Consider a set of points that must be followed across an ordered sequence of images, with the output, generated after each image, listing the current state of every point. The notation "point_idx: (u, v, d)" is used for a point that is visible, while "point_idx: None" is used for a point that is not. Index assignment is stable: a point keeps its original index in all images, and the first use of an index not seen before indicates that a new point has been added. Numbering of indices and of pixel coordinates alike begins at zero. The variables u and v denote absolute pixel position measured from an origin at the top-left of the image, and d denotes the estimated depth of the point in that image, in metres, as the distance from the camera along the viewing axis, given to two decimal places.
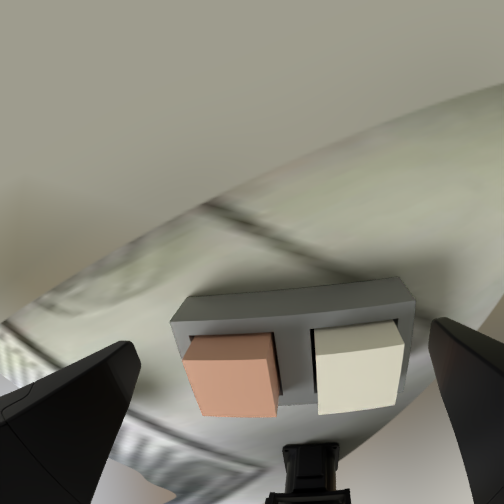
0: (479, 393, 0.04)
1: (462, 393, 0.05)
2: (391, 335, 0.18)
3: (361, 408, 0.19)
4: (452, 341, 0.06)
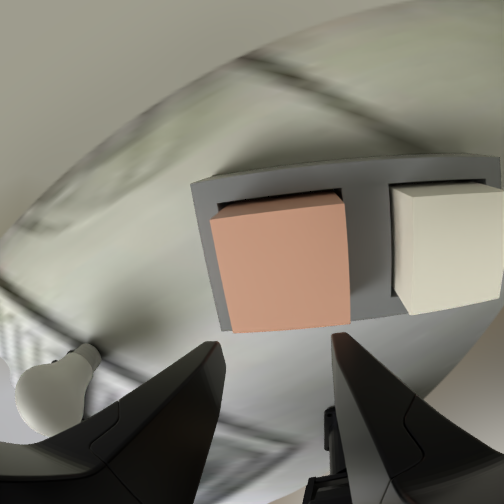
0: (350, 421, 0.05)
1: (343, 416, 0.06)
2: (488, 188, 0.12)
3: (463, 303, 0.12)
4: (334, 360, 0.06)
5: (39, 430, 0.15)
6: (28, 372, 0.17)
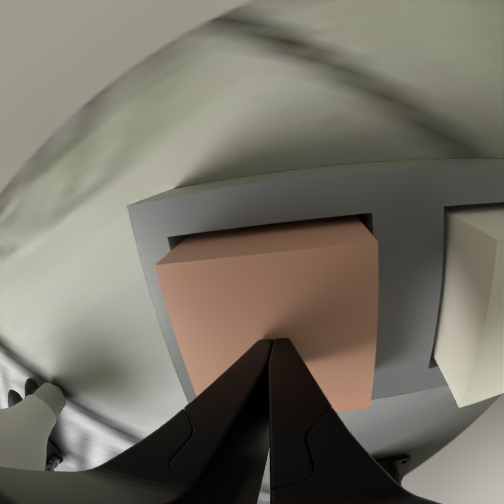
0: None
1: None
2: None
3: None
4: (267, 365, 0.07)
5: None
6: None
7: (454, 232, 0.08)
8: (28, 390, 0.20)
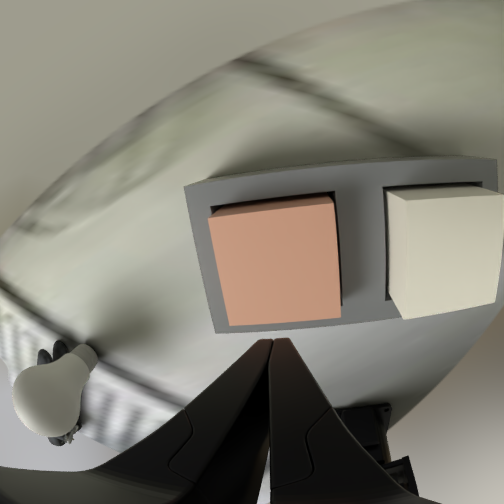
0: None
1: None
2: (484, 191, 0.12)
3: (458, 307, 0.12)
4: (267, 365, 0.07)
5: (35, 430, 0.15)
6: (25, 372, 0.17)
7: (390, 202, 0.14)
8: (56, 350, 0.25)
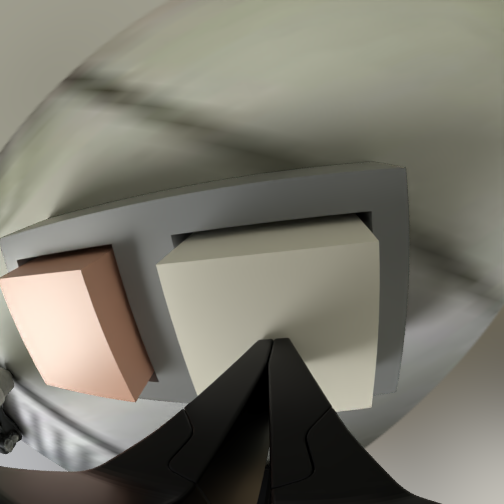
0: None
1: None
2: (347, 231, 0.08)
3: None
4: (267, 365, 0.07)
5: None
6: None
7: None
8: None
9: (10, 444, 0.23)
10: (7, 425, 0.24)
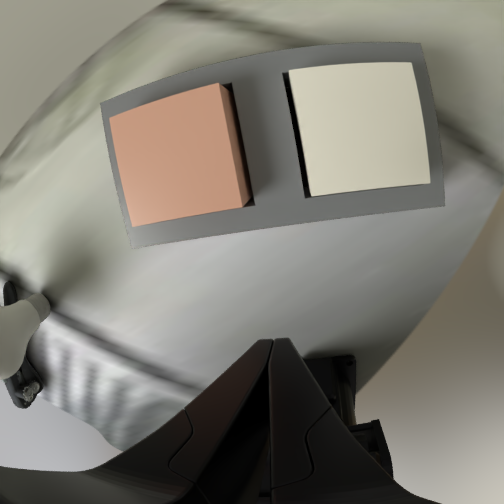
0: None
1: None
2: None
3: (379, 184, 0.12)
4: (267, 365, 0.07)
5: None
6: None
7: (291, 90, 0.14)
8: (5, 290, 0.24)
9: (30, 392, 0.26)
10: (28, 370, 0.27)
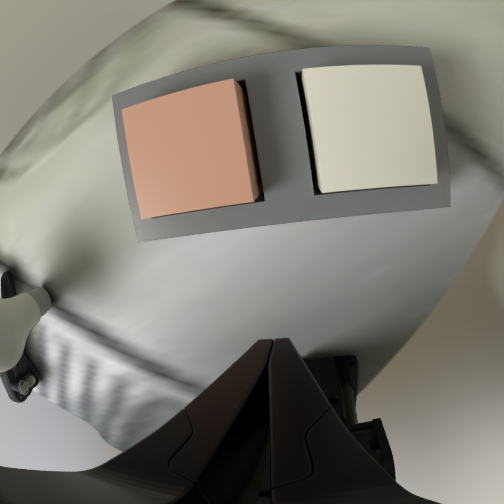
0: None
1: None
2: None
3: (388, 183, 0.12)
4: (267, 365, 0.07)
5: None
6: None
7: (303, 89, 0.14)
8: (2, 280, 0.24)
9: (25, 385, 0.26)
10: (24, 363, 0.27)
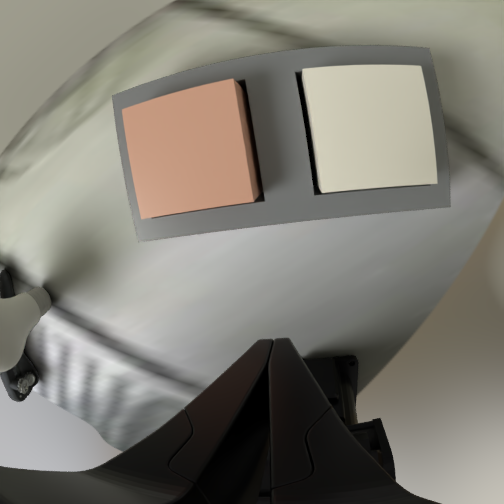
0: None
1: None
2: None
3: (388, 183, 0.12)
4: (267, 365, 0.07)
5: None
6: None
7: (303, 89, 0.14)
8: (0, 277, 0.24)
9: (25, 383, 0.26)
10: (23, 362, 0.27)
